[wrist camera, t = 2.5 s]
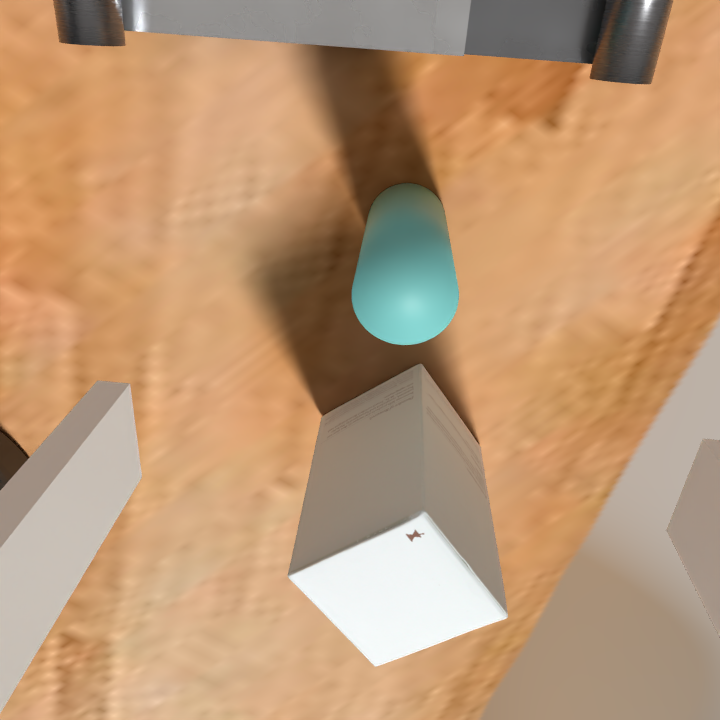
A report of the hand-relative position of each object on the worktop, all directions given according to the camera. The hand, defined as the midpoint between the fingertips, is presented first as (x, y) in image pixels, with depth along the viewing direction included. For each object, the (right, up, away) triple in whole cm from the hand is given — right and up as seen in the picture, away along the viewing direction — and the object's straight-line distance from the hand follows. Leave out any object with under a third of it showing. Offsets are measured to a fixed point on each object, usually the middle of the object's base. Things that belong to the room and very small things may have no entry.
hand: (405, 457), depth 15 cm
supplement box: (+1, -2, +24) cm, 24 cm away
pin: (+1, +9, +18) cm, 20 cm away
